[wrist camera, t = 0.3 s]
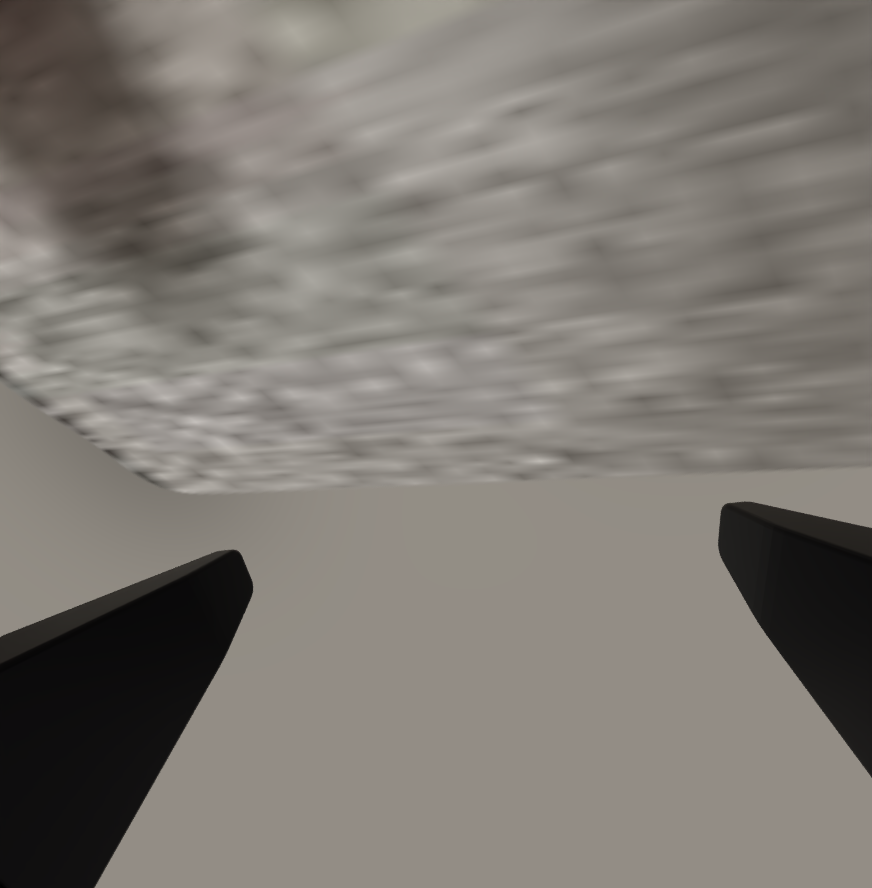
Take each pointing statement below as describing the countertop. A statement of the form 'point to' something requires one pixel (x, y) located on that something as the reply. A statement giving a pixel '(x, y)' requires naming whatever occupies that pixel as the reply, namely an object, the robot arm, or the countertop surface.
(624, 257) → the countertop surface
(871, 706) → the robot arm
